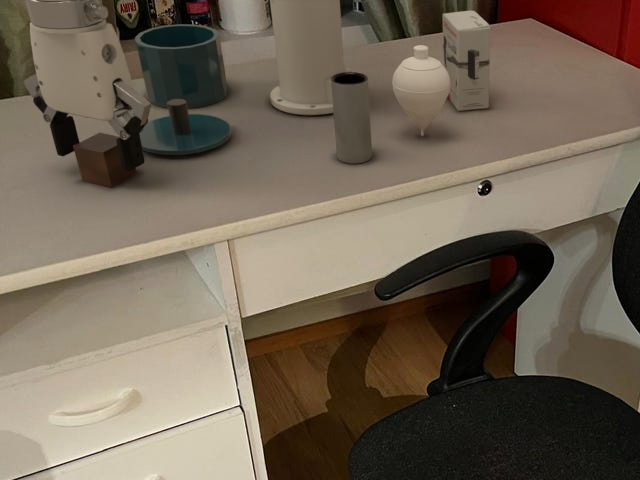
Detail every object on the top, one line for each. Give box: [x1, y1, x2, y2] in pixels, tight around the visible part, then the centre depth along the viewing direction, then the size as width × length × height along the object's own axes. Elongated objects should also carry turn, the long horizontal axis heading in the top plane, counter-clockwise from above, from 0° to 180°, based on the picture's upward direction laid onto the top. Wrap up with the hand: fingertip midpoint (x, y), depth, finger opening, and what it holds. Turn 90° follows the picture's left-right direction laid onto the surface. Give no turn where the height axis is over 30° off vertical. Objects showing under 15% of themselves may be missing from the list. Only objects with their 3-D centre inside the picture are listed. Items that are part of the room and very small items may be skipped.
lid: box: [139, 99, 232, 156], centre depth 113 cm, size 12×12×5 cm
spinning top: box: [391, 44, 451, 137], centre depth 114 cm, size 8×8×12 cm
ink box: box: [442, 10, 491, 112], centre depth 126 cm, size 8×5×12 cm, turn 17°
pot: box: [134, 23, 228, 109], centre depth 126 cm, size 11×11×8 cm
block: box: [73, 132, 138, 189], centre depth 104 cm, size 4×4×4 cm
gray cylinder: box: [331, 71, 373, 165], centre depth 109 cm, size 4×4×10 cm
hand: (101, 159), depth 104 cm, fingers open, 9 cm apart
